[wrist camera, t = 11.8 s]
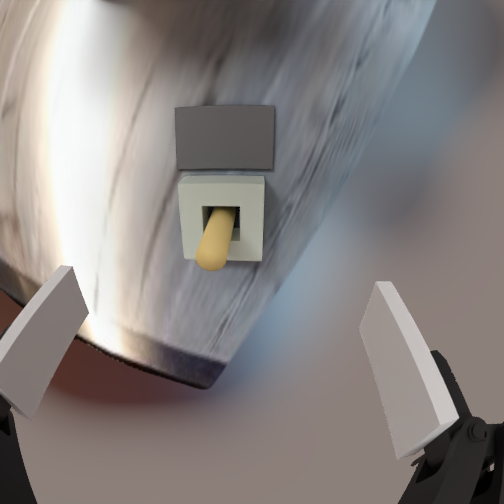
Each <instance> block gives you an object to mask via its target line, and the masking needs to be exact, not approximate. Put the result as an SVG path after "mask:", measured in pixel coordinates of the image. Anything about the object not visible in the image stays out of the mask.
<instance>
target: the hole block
mask: <svg viewBox="0 0 504 504" xmlns="http://www.w3.org/2000/svg"><path fill="white" fill-rule="evenodd" d="M264 189H265V182H264V176H244V175H203V176H185V177H184V178H183V179H182V180H181V181H180V182H179V183H178V197H179V210H180V221H181V232H182V241H183V250H184V259H196V258H195V254H196V251H197V248H198V246H199V243H200V241H201V238H202V236H203V233H204V231H205V229H206V226H207V224H208V221H209V220H208V206H240V228H233V230H232V235H231V240H230V245H229V250H228V255H227V260H234V261H262V245H263V218H264Z"/></svg>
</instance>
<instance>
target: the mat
mask: <svg viewBox="0 0 504 504" xmlns="http://www.w3.org/2000/svg"><path fill="white" fill-rule="evenodd" d="M175 131H176V157H177V169H207V168H246V169H272V167H273V138H274V106H268V105H214V106H194V107H180V108H175Z"/></svg>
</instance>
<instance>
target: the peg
mask: <svg viewBox="0 0 504 504" xmlns="http://www.w3.org/2000/svg"><path fill="white" fill-rule="evenodd" d="M235 216H236V210H235V207H234V206H215V208H214V210H213V212H212V214H211V217H210V219H209V221H208V224H207V226H206V229H205V231H204V233H203V236H202V238H201V241H200V243H199V246H198V248H197V251H196V254H195V258H196V261H197V263H198V265H199V266H200V267H202V268H203V269H205V270H208V271H216V270H219V269H221V268H222V267H223V266H224V265H225V264H226V260H227V255H228V250H229V245H230V240H231V235H232V230H233V225H234V221H235Z"/></svg>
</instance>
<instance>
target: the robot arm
mask: <svg viewBox="0 0 504 504" xmlns="http://www.w3.org/2000/svg"><path fill="white" fill-rule="evenodd" d="M88 314H89V311H88V309H87V306H86V304H85V301H84V298H83V296H82V293H81V290H80V288H79V285H78V282H77V279H76V276H75V273H74V270H73V267H72V266H60V267H59V268H58V269H57V270H56V271H55V272H54V273H53V275H52V276H51V277H50V278H49V279H48V280H47V281H46V282H45V284H44V285H43V286H42V287H41V288H40V289H39V291H38V292H37V293H36V294H35V295H34V297H33V298H32V299H31V300H30V302H29V303H28V304H27V305H26V307H25V308H24V309H23V310H22V312H21V313H20V314H19V316H18V317H17V318H16V319H15V321H14V322H13V323H12V324H10V325H9V326H8V327H7V328H6V329H5V330H4V331H3V333H2V334H1V336H0V504H37V501H36V499H35V496H34V494H33V491H32V488H31V485H30V482H29V479H28V476H27V473H26V470H25V466H24V463H23V459H22V455H21V452H20V447H19V443H18V438H17V433H16V429H15V423H14V417H13V414H12V412H11V411H10V408H11V406H12V407H13V408H14V409H15V410H16V411H17V412H18V413H19V414H20V415H22V416H23V417H25V418H27V419H29V420H31V421H32V418H33V416H34V414H35V412H36V409H37V407H38V405H39V403H40V401H41V399H42V397H43V394H44V392H45V390H46V388H47V386H48V384H49V382H50V380H51V378H52V376H53V375H54V373H55V371H56V369H57V367H58V365H59V363H60V361H61V359H62V358H63V356H64V354H65V352H66V350H67V349H68V347H69V345H70V343H71V342H72V340H73V338H74V337H75V335H76V333H77V332H78V330H79V328H80V327H81V325H82V323H83V322H84V320H85V318H86V317H87V315H88ZM359 332H360V335H361V338H362V341H363V344H364V346H365V350H366V353H367V355H368V359H369V362H370V365H371V368H372V371H373V374H374V377H375V381H376V384H377V387H378V390H379V394H380V397H381V401H382V404H383V408H384V411H385V415H386V418H387V422H388V426H389V430H390V434H391V438H392V441H393V446H394V450H395V454H396V458H397V459H401V458H404V457H408V456H411V455H414V454H416V453H417V452H419V451H420V450H421V449H423V448H424V451H425V454H424V455H422V456H421V457H419V458H418V459H416V460H415V461H414V462H413V463H412V464H411V466H414V465H416V464H417V463H419V464H418V466H417V467H416V471H415V472H414V475H413V476H412V478H411V481H410V482H409V484H408V486H407V488H406V490H405V492H404V494H403V495H402V497H401V499H400V500H399V502H398V504H504V422H503V423H502V424H486V423H485V421H484V420H482V419H481V418H479V417H473V416H472V415H471V413H470V411H469V408H468V406H467V404H466V402H465V399H464V397H463V394H462V392H461V390H460V388H459V385H458V383H457V382H456V381H455V380H456V379H455V377H454V375H453V373H451V369H450V367H449V365H448V363H447V361H446V359H445V358H444V357H443V356H442V355H441V354H440V353H439V352H438V351H437V350H434V351H429V349H428V347H427V345H426V343H425V341H424V339H423V337H422V335H421V333H420V331H419V330H418V328H417V326H416V324H415V322H414V321H413V319H412V317H411V315H410V313H409V311H408V310H407V308H406V306H405V304H404V303H403V301H402V299H401V297H400V296H399V294H398V292H397V291H396V289H395V287H394V286H393V284H392V282H380V281H379V282H377V281H376V282H375V285H374V288H373V291H372V294H371V296H370V299H369V302H368V305H367V308H366V310H365V313H364V316H363V318H362V321H361V324H360V326H359ZM493 463H494V470H492V471H490V465H492V464H493Z"/></svg>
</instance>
